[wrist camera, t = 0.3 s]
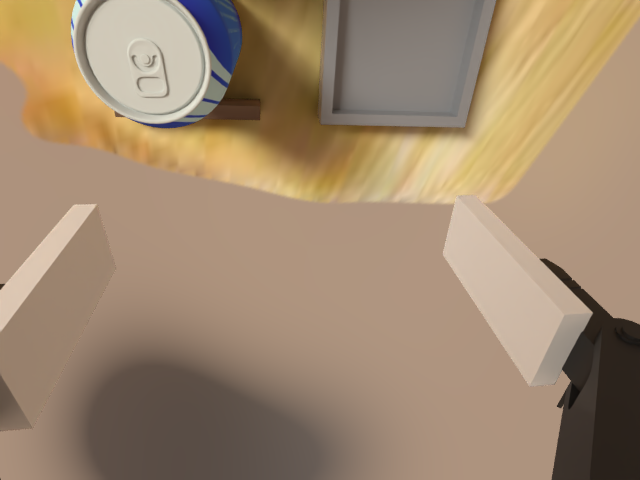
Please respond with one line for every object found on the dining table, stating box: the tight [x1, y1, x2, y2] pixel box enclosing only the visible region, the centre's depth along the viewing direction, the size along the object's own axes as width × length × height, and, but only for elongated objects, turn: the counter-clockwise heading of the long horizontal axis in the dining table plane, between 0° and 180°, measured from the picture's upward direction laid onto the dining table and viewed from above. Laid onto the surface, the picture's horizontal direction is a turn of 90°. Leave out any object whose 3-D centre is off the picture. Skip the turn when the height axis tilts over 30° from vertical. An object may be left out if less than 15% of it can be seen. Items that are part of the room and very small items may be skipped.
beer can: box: [71, 0, 242, 128], centre depth 27 cm, size 8×8×16 cm
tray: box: [318, 0, 496, 128], centre depth 35 cm, size 14×14×2 cm
